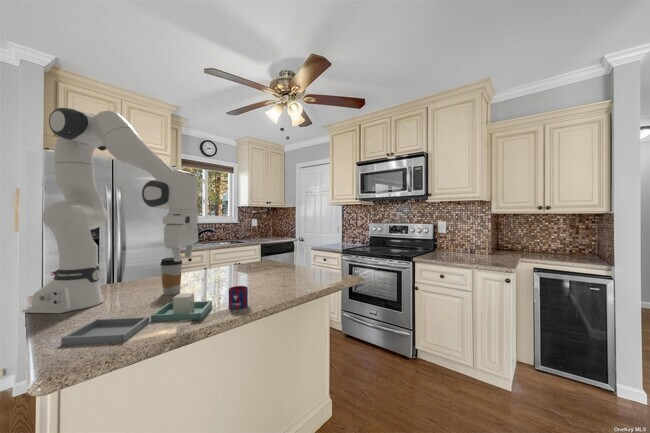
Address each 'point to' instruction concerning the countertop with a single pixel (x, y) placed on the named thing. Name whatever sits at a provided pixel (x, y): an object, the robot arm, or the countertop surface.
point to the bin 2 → (167, 313)
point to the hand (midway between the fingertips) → (183, 258)
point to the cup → (238, 297)
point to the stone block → (183, 303)
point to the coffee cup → (171, 276)
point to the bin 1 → (106, 331)
